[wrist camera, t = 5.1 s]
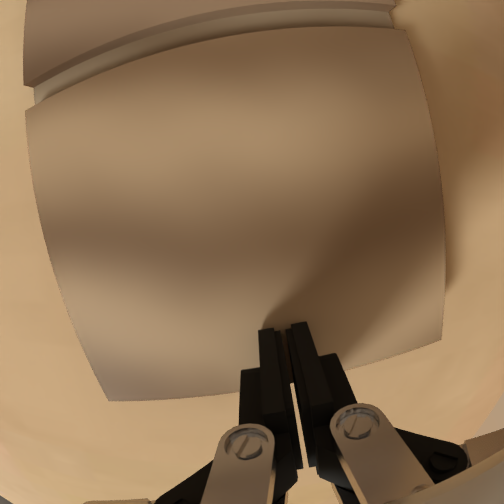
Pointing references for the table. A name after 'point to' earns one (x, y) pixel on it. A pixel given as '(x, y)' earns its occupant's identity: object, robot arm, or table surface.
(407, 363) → the table surface
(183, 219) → the plank
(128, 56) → the brown wooden board
